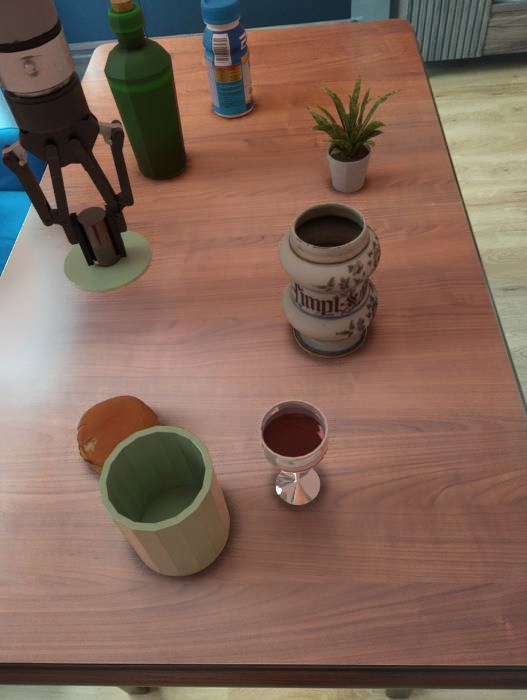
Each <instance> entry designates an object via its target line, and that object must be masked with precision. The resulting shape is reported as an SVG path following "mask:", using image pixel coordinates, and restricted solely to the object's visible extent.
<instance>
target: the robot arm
mask: <svg viewBox="0 0 527 700" xmlns="http://www.w3.org/2000/svg"><path fill="white" fill-rule="evenodd" d="M75 69H76V63H75V61H74V58H73V54H72V51H71V49H70V44H69V43H68V38H67V36H66V33H65V31H64V27H63V24H62V22H61V20H60V17H59V14H58V11H57V8H56V4H55V1H54V0H0V87H1V88H2V89H4V90H3V96H4V98H5V100H6V103H7V105H8V107H9V110H10V112H11V115H12V117H13V119H14V121H15V123H16V126H17V128H18V131H19V132H18V140H16V141H15V142H13V143H12V144H8V143H7V144H4V145H3V146H2V147H1V154H2V155H1V156H2V157H1V158H2V159H1V161H2V164H3V165H4V166H5V167H7V169H9V170H10V171H11V172H12V173H13V174H14V175H15V176H16V178H17V179H18V181H19V183H20V185H21V186H22V189H23V190H24V192H25V194H26V195H27V197H28V199H29V201H30V203H31V205H32V206H33V208H34V210H35V211H36V213H37V215H38V217H39V219H40V221H41V222H42V224H43V226H45V227H52V226H53V225H58V226H60V227H61V228H62V230H63V232H64V234H65V237H66V239H67V242H68V243H69V244H70V245H71V246H75V245H76V244H79V245H80V247H81V250H82V252H83V254H84V257H85V259H86V261H87V264H88V266H92V265H94V260H93V257H92V255H91V253H90V250H89V248H88V245H87V243H86V240H85V238H84V236H83V233H82V231H81V228H80V226H79V223H78V221H77V217H78V213H77V211H74V212H70V210H69V204H68V199H67V193H66V186H65V183H64V177H63V170H62V169H63V168H66V167H67V166H70V165H78V164H79V165H81V167H82V168H83V170H84V171H85V172H86V173H87V175H88V176H89V178H90V180H91V181H92V183H93V185H94V186H95V188H96V189H97V191H98V193H99V195H100V196H101V198H102V200H103V201H104V203H105V204H104V205H103V207H104V210H105V211H106V216H107V219H108V222H109V225H110V228H111V231H112V233H113V236H114V239H115V242H116V245H117V247H118V250H119V253H120V256H121V258H123V257H127V254H126V250H125V246H124V242H123V239H122V236H121V233H122V232H126V231H127V230H128V225H127V220H126V218H125V214H124V212H123V210H124V209H125V208H126V207H129V208H130V207H132V206H134V204H135V199H134V195H133V190H132V187H131V181H130V178H129V173H128V168H127V164H126V160H125V155H124V151H123V150H124V145H125V144H124V142H125V138H126V135H125V134H126V133H125V131H124V128H123V127H124V126H123V123H122V121H120V120H119V119H113V120H112V121H111V122H105V121H99V119H98V118H97V116H96V115H95V114H93V112H92V111H91V109H90V107H89V104H88V101H87V98H86V95H85V92H84V88H83V85H82V83H81V79H80V76H79V74H78V73H77V72H76V71H75ZM99 135H101V136H102V138H103V141H104V143H105V144H107V145H108V146H109V147H110V151H111V157H112V159H113V164H114V168H115V172H116V175H117V180H118V184H119V188H120V191H119V192H118V193H116V191H115V190H114V188H113V185H112V184H111V183H110V181H109V179H108V177H107V176H106V174H105V172H104V170H103V168H102V167H101V165H100V163H99V162H98V160H97V159H96V156H95V155H94V152H93V149H94V146H95V145H96V141H97V140H98V137H99ZM27 152H28V153H29V154H31V155H32V156H34V157H36V158H37V159H39V160H40V161H42V162H43V163H45V164H47V166H48V171H49V176H50V181H51V185H52V191H53V196H54V201H55V206H56V208H52V206H51V204H50V202H49V201H48V199H47V196H46V195H45V193H44V191H43V189H42V188H41V186H40V184H39V181H38V180H37V178H36V176H35V174H34V172H33V171H32V170H33V169H32V168H31V167H30V165H29V163H28V154H27Z"/></svg>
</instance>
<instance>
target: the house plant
mask: <svg viewBox="0 0 527 700" xmlns="http://www.w3.org/2000/svg"><path fill="white" fill-rule="evenodd" d="M361 83H362V74H359V76H358V77H357V80H356V81H355V85H354V88H353V92H352V95H351V94H348V98H349V105H348V111H349V113H347V112H346V109H345V107H344V104H343V102H342V100H341V98H340V97H339V95H338V94H337V93H336V92H335V91H333V90H331V89H329V88H328V87H327V86H325V85H323V84H320V83H318V85H319V86H320V88H322V89H323V90H324V91H325V94H327V95H328V96H329V97H330V99H331V100H332V101H333V103H334V106H335V109H336V112H337V115H338V117H339V119H340V123H341V125H340V124H338V123H337V121H336V120H335V118H334V117H333V116H332V115H331V114H330V112H329V111H328V110H327V109H325V108H324V107H322V106H320V105H319V104H317V103H314V102H308V104H309V105H312V106H314V108H316V109H318V110H319V111H321V112H322V113H323V114H324V115H325V116H326V117H327V118H326V117H324V116H323V115H322V114H320V113H317V112H316V111H315V110H313V109H312V108H309V107H307V106H305V109H306V111H307V112H308V113H309V114H310V115H311V116H312V119H313V120H314V122H315V123H316V125H314V126H312V127H311V128H310V129H309V130H310V131H321V132H324V133H326V134H327V135H328V136H329V138H328V139H322V142H325V143H330V144H329V145H328V147H327V149H326V156H327V160H328V161H327V162H328V167H329V172H330V178H331V184H332V186H333V188H334V189H335V190H336V191H339V192H340V193H353V192H356V191H358V190H360V189H361V188H362V187H363V186H364V183H365V179H366V174H367V171H368V167H369V163H370V160H371V159H370V158H371V155H372V150H373V151H374V150H375V149H374V148H375V146H376V142H375V141H373V140H371V139H373V138H376V137H378V136H381V135H382V134H385V132H384V131H382V130H380V128H382V127H387V125H386V124H385V123H383V122H382V121H381V120H376V118H378V117H379V115H381V114H382V113H383V112H385V111H386V109H384V110H383V111H381V112H380V113H378V114H377V115H376V116H374V118H373V119H372V120H371V118H372V117H373V115H374V114H375V113H376V112H377V111H378V109H379V108H380V107H381V106H382V105H384V104H385V102H386V101H387V100H388V99H389V98H391V97H393V95H395V94H398V93H400V92H402V91H403V89H397V90H393V91H390V92H388V93H386V94H384V95H383V96H379V95H378V96H377V95H376V96H371V97H370V98H369V96H370V92H371V87H369V88H368V89H367V90H366V91H365V94H364V96H363V99H362V102H359V98H360V95H361V89H362V84H361ZM377 98H379V99H378V100H377V101H376V102H375V103H374V104H373V105H372V107H371V108H370V110H369V112H368V114H367V115H366V117H365V119H364V114H365V110H366V106H367V105H368V103H369V102H370V101H372V100H375V99H377ZM327 119H329V121H330V122H329V121H328V120H327ZM363 119H364V120H363ZM370 120H371V121H370Z"/></svg>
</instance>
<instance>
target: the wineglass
mask: <svg viewBox="0 0 527 700" xmlns="http://www.w3.org/2000/svg"><path fill="white" fill-rule="evenodd" d="M258 424H259V425H258V429H257V431H258V435H259V444H260V450H261V452H262V454H263V455H264V457H265V459H266V461H267V462H268V463H269V464H270V465H271V466H273V467H274V468H275V469H276V470H279V471H280V472H279V473H278V475H277V476H276V480H275V490H276V492H277V495H278V496H279V497H280V498H281V500H283V501H284V502H285V503H288V504H290V505H294V506H295V505H296V506H301V505H302V506H303V505H307V504H308V503H311V502H312V501H313V500H314V499H315V498H316V497H318V494H319V492H320V489H321V480H320V477H319V475H318V473H317V471H316V470H315V469H314V468H315V467H316V466H317V465H318V464H319V463H320V462H322V461H323V459H324V457H325V456H326V453H327V451H328V449H329V439H330V438H329V433H328V432H329V425H328V421H327V418H326V416H325V414H324V413H323V412H322V410H321V409H320V408H319V407H318V406H316V405H315V404H313V403H312V402H309V401H306V400H303V399H296V398H295V399H294V398H292V399H291V398H289V399H286V400H285V399H284V400H280V401H278V402H277V403H275V404H272V405H271V406H270V407H269V408H267V410H265V411H264V413H263V414H262V416H261V418H260V420H259V423H258Z"/></svg>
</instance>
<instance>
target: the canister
mask: <svg viewBox="0 0 527 700" xmlns="http://www.w3.org/2000/svg"><path fill="white" fill-rule="evenodd" d="M98 490H99V495H100V503H101V505H102V507H103V508H104V509H105V511H106V512H107V513H108V514H107V515H109V517H110V518H111V519H112V521H113V522H114V523H115V525H116V527H117V528H118V529H119V531H120V532H121V533H122V535H123V536H124V538H125V539H126V540H127V542H128V543H129V544H130V546H131V547H132V548H133V551H135V552H136V554H137V555H138V557H139V558H140V560H141V561H142V562H143V564H145V566H147V567H148V568H149V569H151V570H153V571H154V572H156V573H158V574H160V575H163V576H168V577H187V576H190V575H193V574H196V573H198V572H200V571H202V570H204V569H206V568H207V567H208V566H209V565H211V564H213V562H214V561H215V560H216V559H217V558H218V557H219V556H220V554H221V553H222V551H223V550H224V548H225V546H226V544H227V541H228V539H229V536H230V529H231V517H230V512H229V509H228V505H227V502H226V499H225V496H224V493H223V490H222V487H221V484H220V481H219V478H218V474H217V472H216V469H215V466H214V462H213V459H212V455H211V453H210V450H209V448H208V447H207V445H205V443H204V442H203V441H202V440H201V439H200V438H199V436H198V435H196V434H195V433H193V432H190V431H189V430H186V429H184V428H183V427H179V426H177V425H176V426H173V425H162V426H154V427H151V428H148V429H144V430H141V431H138V432H135V433H134V434H132V435H131V436H129V437H128V438H127V439H125V440H124V441H122V442H121V443H119V444H118V445H117V446H116V448H115V449H114V450H113V452H112V453H111V454H110V456H109V457H108V458H107V460H106V461H105V463H104V466H103V470H102V473H101V475H100V477H99V480H98Z"/></svg>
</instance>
